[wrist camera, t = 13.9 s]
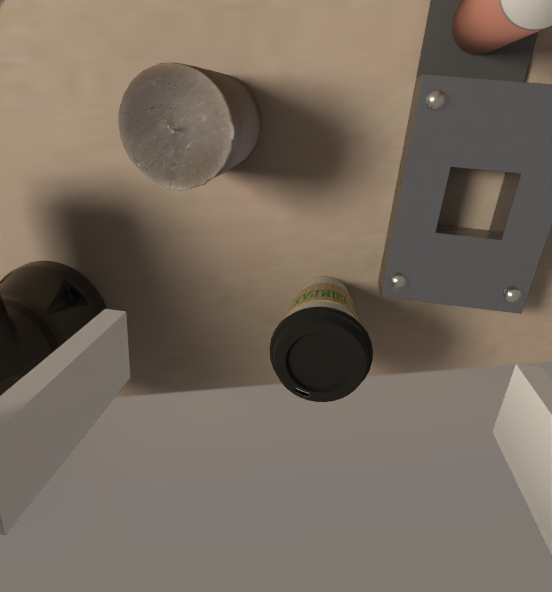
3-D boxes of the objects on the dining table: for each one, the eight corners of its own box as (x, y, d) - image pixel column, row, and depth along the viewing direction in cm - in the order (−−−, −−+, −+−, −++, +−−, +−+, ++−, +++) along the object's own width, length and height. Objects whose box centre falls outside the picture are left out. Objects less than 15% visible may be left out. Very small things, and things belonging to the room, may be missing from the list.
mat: (416, 77, 43) (417, 77, 43) (439, -46, 39) (440, -48, 39) (521, 86, 42) (522, 85, 42) (555, -40, 38) (557, -42, 38)
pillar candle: (167, 78, 46) (95, 67, 32) (257, 68, 44) (220, 51, 31) (183, 172, 50) (124, 197, 36) (266, 166, 48) (237, 189, 35)
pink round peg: (445, 52, 41) (491, 25, 29) (460, -16, 39) (515, -74, 27) (504, 57, 41) (574, 32, 29) (521, -11, 39) (605, -69, 27)
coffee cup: (380, 284, 52) (395, 345, 38) (341, 347, 56) (341, 423, 42) (306, 247, 51) (294, 296, 37) (272, 314, 55) (250, 380, 41)
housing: (378, 283, 52) (381, 298, 47) (416, 77, 43) (424, 74, 39) (508, 299, 50) (523, 316, 46) (575, 90, 42) (602, 87, 37)
